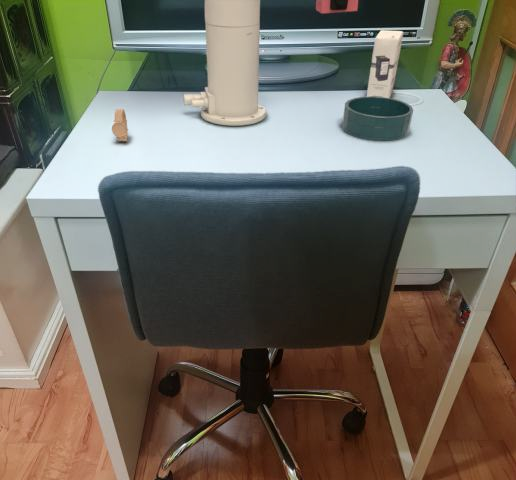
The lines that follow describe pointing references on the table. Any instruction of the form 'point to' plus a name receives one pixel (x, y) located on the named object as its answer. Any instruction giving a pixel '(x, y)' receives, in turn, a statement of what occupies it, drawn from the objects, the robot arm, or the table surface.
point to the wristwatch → (120, 125)
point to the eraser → (324, 7)
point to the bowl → (377, 118)
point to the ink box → (384, 63)
